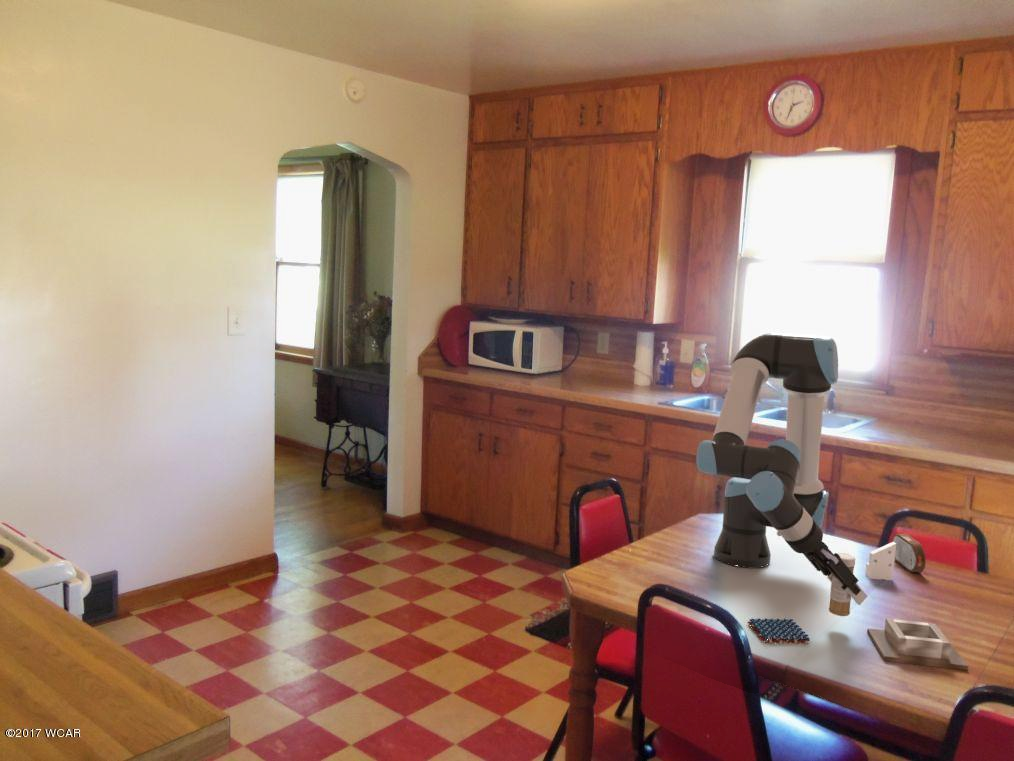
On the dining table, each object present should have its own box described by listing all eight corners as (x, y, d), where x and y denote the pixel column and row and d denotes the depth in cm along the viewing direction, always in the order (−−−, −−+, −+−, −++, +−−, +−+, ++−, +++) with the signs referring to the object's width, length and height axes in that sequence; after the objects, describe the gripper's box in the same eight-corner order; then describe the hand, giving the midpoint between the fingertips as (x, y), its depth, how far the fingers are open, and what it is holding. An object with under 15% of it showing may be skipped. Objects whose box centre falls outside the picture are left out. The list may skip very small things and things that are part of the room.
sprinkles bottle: (838, 607, 188) (843, 550, 186) (854, 615, 184) (860, 557, 182) (823, 610, 186) (829, 553, 184) (839, 618, 182) (845, 560, 180)
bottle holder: (883, 660, 170) (886, 640, 169) (867, 632, 184) (869, 613, 183) (967, 670, 167) (970, 649, 167) (944, 641, 181) (946, 621, 180)
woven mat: (745, 625, 186) (746, 616, 186) (791, 626, 187) (792, 617, 187) (762, 646, 176) (763, 637, 176) (810, 646, 177) (811, 637, 176)
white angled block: (910, 572, 217) (896, 543, 216) (874, 588, 218) (860, 559, 218) (905, 567, 221) (891, 539, 220) (870, 583, 222) (855, 555, 221)
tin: (925, 577, 221) (928, 546, 220) (913, 576, 221) (916, 546, 220) (899, 558, 236) (902, 529, 235) (888, 557, 236) (891, 529, 235)
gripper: (763, 529, 187) (818, 593, 194) (812, 555, 170) (871, 624, 177) (785, 505, 187) (840, 569, 194) (836, 529, 171) (893, 598, 178)
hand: (854, 595), depth 186 cm, fingers closed on sprinkles bottle, 4 cm apart
